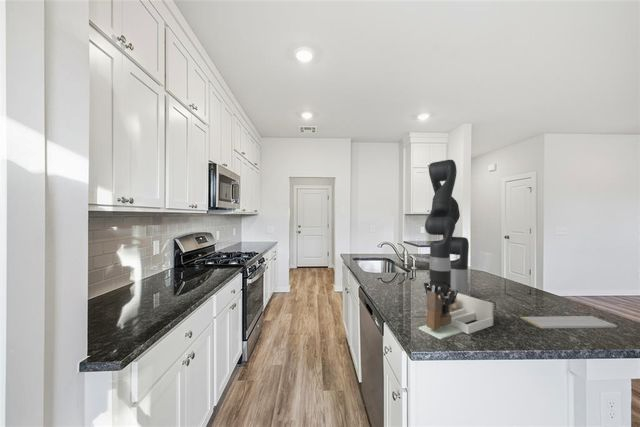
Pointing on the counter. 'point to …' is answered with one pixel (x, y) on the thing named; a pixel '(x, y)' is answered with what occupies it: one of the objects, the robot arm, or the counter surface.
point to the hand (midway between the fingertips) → (439, 312)
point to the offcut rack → (471, 314)
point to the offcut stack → (453, 305)
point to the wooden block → (436, 311)
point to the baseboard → (569, 322)
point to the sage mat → (441, 331)
